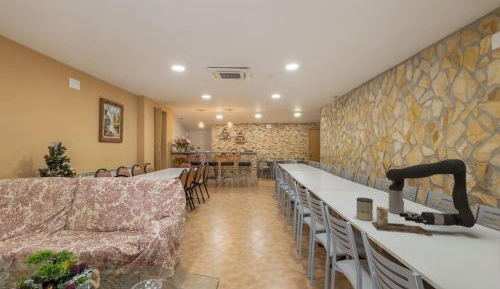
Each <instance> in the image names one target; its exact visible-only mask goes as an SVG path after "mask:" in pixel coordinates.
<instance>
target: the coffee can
mask: <svg viewBox="0 0 500 289" xmlns="http://www.w3.org/2000/svg"><path fill="white" fill-rule="evenodd" d="M373 206H374V198H373V199H372V198H370V197H369V198H368V197H357V198H356V219H357V220H360V221H366V222H373V217H374V216H373V214H374V212H373V210H374V207H373Z"/></svg>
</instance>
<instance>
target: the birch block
mask: <svg viewBox="0 0 500 289" xmlns="http://www.w3.org/2000/svg"><path fill="white" fill-rule="evenodd" d="M375 222H376V224H377V225H378V226H384V227H388V223H389V208H387V207H386V206H376V221H375Z"/></svg>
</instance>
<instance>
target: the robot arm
mask: <svg viewBox="0 0 500 289" xmlns="http://www.w3.org/2000/svg"><path fill="white" fill-rule="evenodd" d="M436 175H452V176H453V179H454V181H453V182H454V183H453V188H452V192H451V197H452V204H453V208H454V209H455V210H457V212H458V213H445V212H444V213H443V212H434V211H422V212H421V214H419V213H417V212H408V211H406V212H405V200H404V198H403V196H404V194H403V193H404V187H405V181H406V180H407V179H410V180H411V179H412V180H415V179H423V178H424V179H425V178H430V177H432V176H436ZM385 176H386V179H387V180H389V181H391V182H392V183H391V184H389V186H388V213H391V214H397V215H399V218H404V221H405V222H413V223H416V224H422V225H423V224H424V225H426V226H447V227H450V226H451V227H452V226H459V227H464V228H468V229H470V228H474V226H475V225H476V218H475V215H474V214H473V211H472V209H471V208H470V202H469V196H468V192H467V166H466V163H465V162H464V161H463V160H462V159H458V158H448V159H444V160H439V161H437V162H433V163H421V164H420V163H419V164H414V165H410V166H407V167H402V168H392V169H389V170H387V171H386V174H385ZM405 179H406V180H405Z"/></svg>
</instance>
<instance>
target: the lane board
mask: <svg viewBox="0 0 500 289" xmlns="http://www.w3.org/2000/svg"><path fill="white" fill-rule="evenodd" d="M371 226H373V227H374V228H375V229H376V231H379V232H391V233H402V234H403V233H404V234H405V233H406V234H417V235H418V234H419V235H425V236H427V237H428V236H429V237H433V234H432V233H430V232H429V231H427V230H426V229H424V228H423V227H422V226H420V225H409V224H408V225H407V224H405V223H396V222H395V223H393V222H388V227H384V226H378V225H377V224H376V221H372V222H371Z"/></svg>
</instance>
